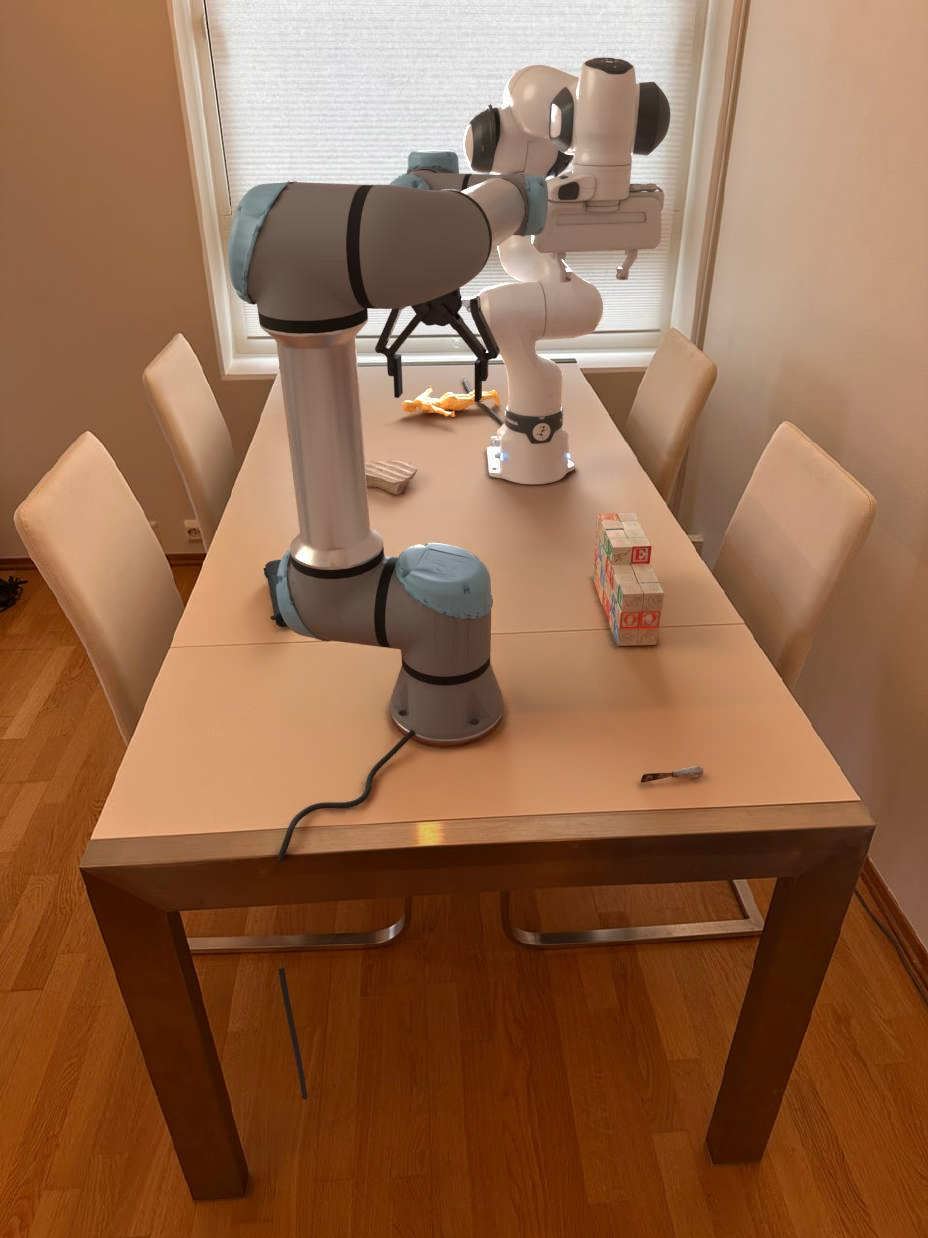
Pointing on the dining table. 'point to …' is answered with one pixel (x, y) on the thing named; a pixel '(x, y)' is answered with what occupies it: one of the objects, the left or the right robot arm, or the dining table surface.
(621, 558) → the stack of blocks
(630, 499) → the dining table surface
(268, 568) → the handgun
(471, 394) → the human figure
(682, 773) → the putty knife
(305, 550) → the left robot arm
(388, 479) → the stone
